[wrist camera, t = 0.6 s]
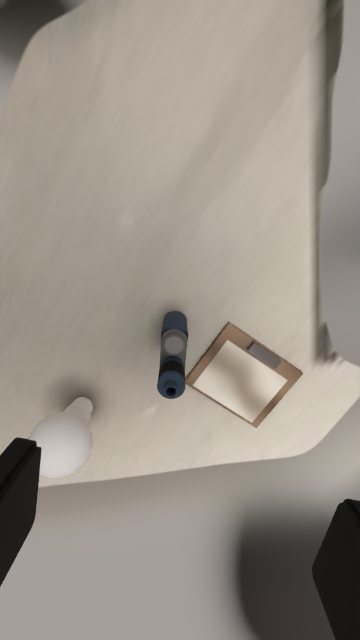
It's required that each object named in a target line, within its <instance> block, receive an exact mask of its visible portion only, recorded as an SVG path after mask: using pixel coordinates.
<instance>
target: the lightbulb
mask: <svg viewBox="0 0 360 640" xmlns="http://www.w3.org/2000/svg"><path fill="white" fill-rule="evenodd" d="M92 409H93V404H92V402H91V401H90V400H89V399H88V398H85V397H79V398H77V399H75V400H74V401H73V402H72V404H71V405H69V406H68V407H67V408H66V409H65V410H64V411H63V412H59V413H55V414H52V415H50V416H47V417H46V418H44V419H43V420H42V421H40V422H39V423H38V424H37V425H36V426H35V428H34V429H33V431H32V432H31V434H30V437H29V440H34V441H36V443H37V447H41V449H42V451H41V462H40V472H39V474H40V475H42V476H44V477H48V478H63V477H66V476H69V475H71V474H73V473H75V472H77V471H78V470H79V469H80V468H81V467H82V466H83V465H84V464H85V462H86V461H87V460H88V458H89V456H90V453H91V451H92V445H93V436H92V432H91V429H90V426H89V422H90V419H91V412H92Z"/></svg>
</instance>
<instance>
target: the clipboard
mask: <svg viewBox="0 0 360 640" xmlns="http://www.w3.org/2000/svg"><path fill="white" fill-rule="evenodd" d="M302 374H303V373H302V372H301V371H300V370H298V369H297V368H296V367H294V366H293V365H291V364H290V363H288V362H287V361H285V360H284V359H282V358H281V357H279V356H278V355H276V354H275V353H274V352H272V351H271V350H269V349H268V348H266V347H265V346H263V345H262V344H260V343H259V342H257V341H256V340H254V339H253V338H251V337H250V336H249V335H247V334H246V333H244V332H243V331H241V330H240V329H238V328H237V327H235V326H234V325H232V324H231V323H229V322H228V323H227V324H226V326H225V327H224V328H223V330H222V331H221V332H220V334H219V335H218V336H217V338H216V339H215V340H214V342H213V343H212V344H211V346H210V347H209V348H208V350H207V351H206V352H205V354H204V355H203V356H202V358H201V359H200V360H199V362H198V363H197V364H196V366H195V367H194V368H193V370H192V371H191V372H190V374H189V375H188V376H187V378H186V379H185V384H187V385H189V386H190V387H192V388H193V389H195V390H197V391H198V392H200V393H201V394H203V395H205V396H206V397H208V398H209V399H211V400H213V401H214V402H216V403H217V404H219V405H221V406H222V407H224V408H225V409H227V410H229V411H230V412H232V413H233V414H235V415H236V416H238V417H240V418H241V419H243V420H244V421H246V422H248V423H249V424H251V425H252V426H254V427H256V428H257V427H258V426H259V425H260V423H261V422H262V421H263V420H264V419H265V418H266V416H267V415H268V414H269V413H270V412H271V411H272V409H273V408H274V407H275V406H276V405H277V404H278V402H279V401H280V400H281V399H282V398H283V396H284V395H285V394H286V393H287V392H288V391H289V389H290V388H291V387H292V386H293V385H294V384H295V382H296V381H297V380H298V379H299V378H300V377H301V375H302Z"/></svg>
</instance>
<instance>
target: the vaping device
mask: <svg viewBox="0 0 360 640" xmlns="http://www.w3.org/2000/svg"><path fill="white" fill-rule="evenodd" d="M187 339H188V331H187V320H186V317H185V315H183V314H182V313H180V312H177V311H173V312H170V313H168V314H167V315H166V316H165V318H164V322H163V328H162V333H161V355H160V370H159V377H158V384H157V388H158V391H159V393H160V394H161V395H162V396H163V397H165V398H169V399H174V398H177V397H179V396H181V395H182V394H183V392H184V390H185V379H184V378H185V360H186V348H187Z"/></svg>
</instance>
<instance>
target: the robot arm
mask: <svg viewBox="0 0 360 640" xmlns="http://www.w3.org/2000/svg"><path fill="white" fill-rule="evenodd" d="M41 451H42V449H41V447H37V443H36V441H34V440H28V439H23V438H18V437H17V438H15V439H14V440H13V441H12V442H11V443H10V445H9V446H8V447H7V448H6V449H5V451H4V452H3V453H2V454H1V455H0V586H1V584H2V582H3V581H4V579H5V577H6V575H7V573H8V571H9V569H10V567H11V566H12V564H13V562H14V560H15V558H16V556H17V554H18V552H19V551H20V549H21V547H22V545H23V543H24V541H25V539H26V537H27V535H28V534H29V532H30V530H31V527H32V525H33V522H34V519H35V514H36V504H37V492H38V483H39V472H40V462H41ZM312 572H313V579H314V582H315V585H316V587H317V590H318V593H319V595H320V598H321V601H322V604H323V607H324V609H325V612H326V615H327V617H328V620H329V623H330V626H331V628H332V631H333V634H334V637H335V639H336V640H360V501H357V500H352V499H346V500H344V502H343V503H340V504H339V505H338V507H337V509H336V512H335V514H334V516H333V519H332V521H331V523H330V526H329V528H328V530H327V533H326V535H325V537H324V540H323V542H322V545H321V547H320V549H319V552H318V554H317V557H316V559H315V561H314V563H313V567H312Z"/></svg>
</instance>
